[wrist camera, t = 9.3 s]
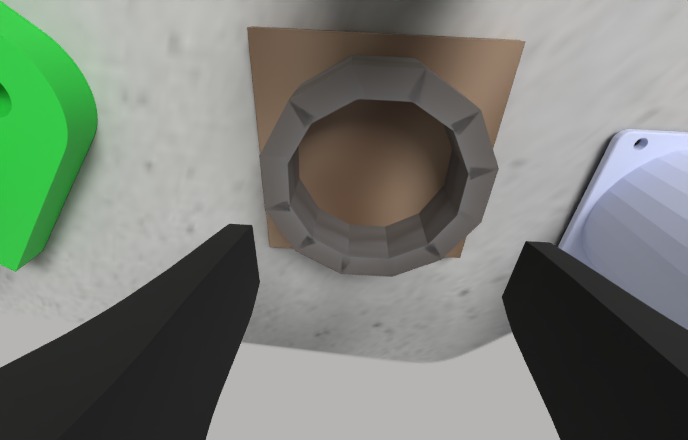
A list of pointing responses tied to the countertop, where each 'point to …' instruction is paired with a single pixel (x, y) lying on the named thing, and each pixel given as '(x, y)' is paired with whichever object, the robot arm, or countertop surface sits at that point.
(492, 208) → the countertop surface
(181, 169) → the countertop surface
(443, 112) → the collar holder
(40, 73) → the mechanical part
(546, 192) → the countertop surface
